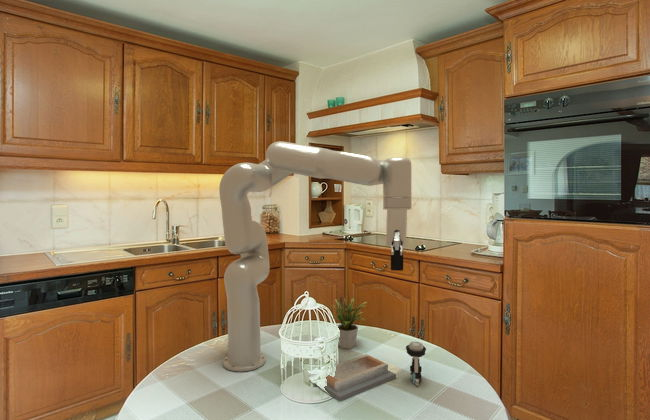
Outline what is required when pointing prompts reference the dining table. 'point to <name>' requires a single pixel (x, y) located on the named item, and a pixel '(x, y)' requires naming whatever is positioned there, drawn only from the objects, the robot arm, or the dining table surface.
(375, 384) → the panel
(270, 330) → the dining table surface
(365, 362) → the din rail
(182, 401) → the dining table surface
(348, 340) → the house plant
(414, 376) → the round cylindrical fitting
